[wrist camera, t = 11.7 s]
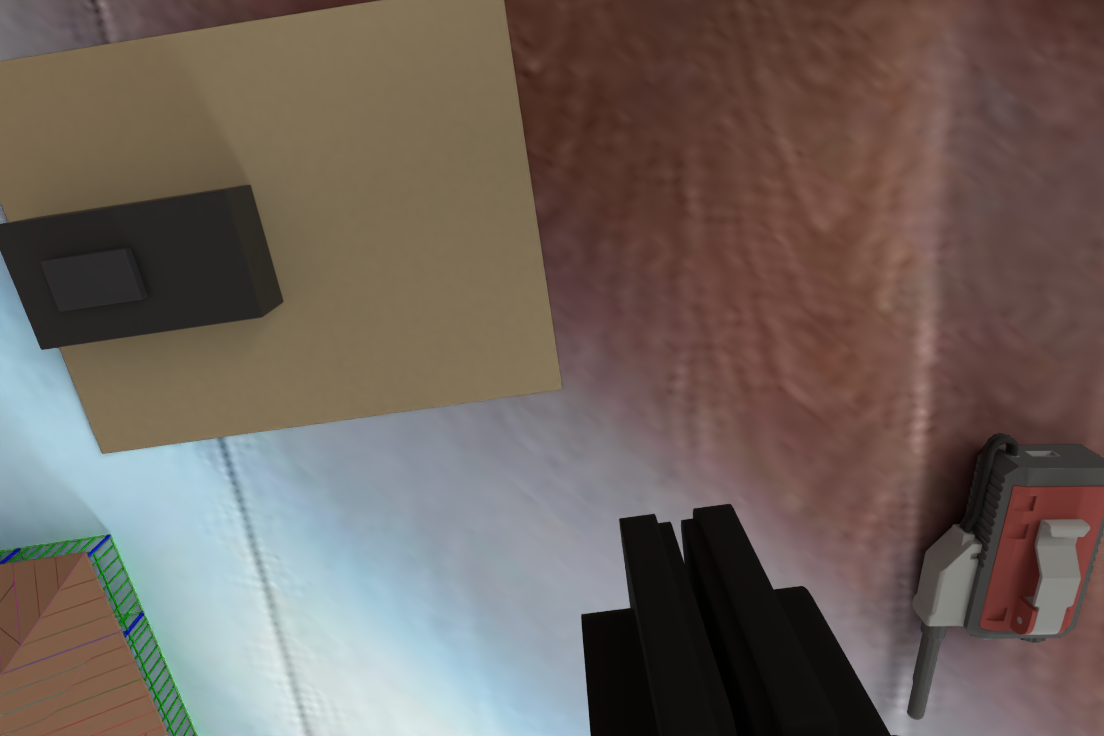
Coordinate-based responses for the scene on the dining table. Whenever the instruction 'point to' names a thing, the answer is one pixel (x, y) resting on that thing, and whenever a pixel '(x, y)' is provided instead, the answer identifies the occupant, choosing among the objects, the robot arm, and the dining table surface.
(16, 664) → the house
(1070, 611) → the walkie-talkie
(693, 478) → the dining table surface
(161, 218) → the block
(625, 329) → the dining table surface
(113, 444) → the cork mat
